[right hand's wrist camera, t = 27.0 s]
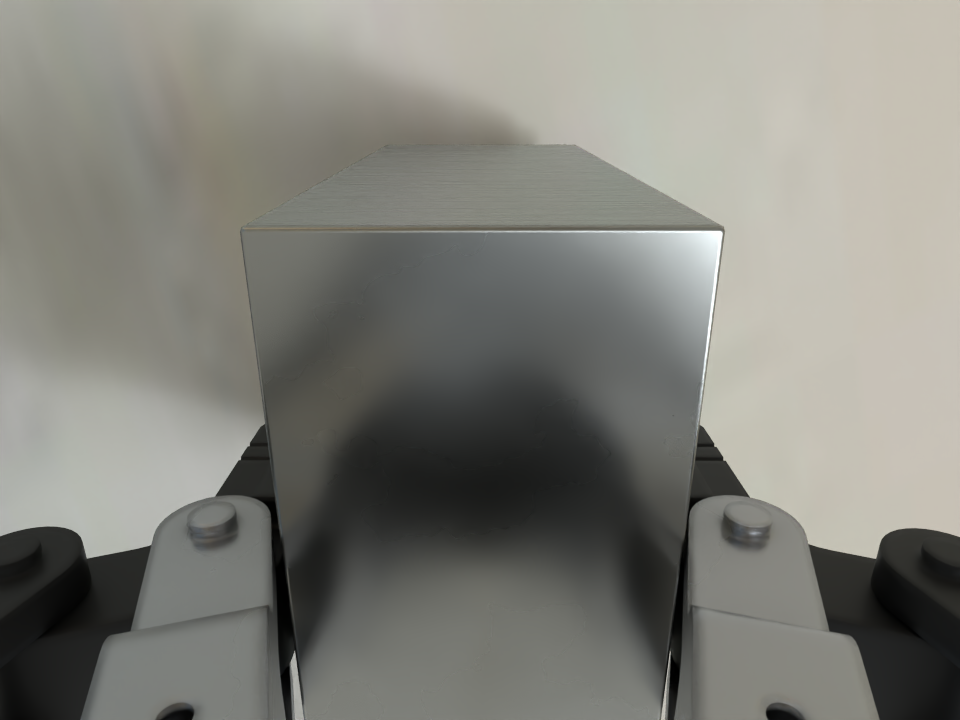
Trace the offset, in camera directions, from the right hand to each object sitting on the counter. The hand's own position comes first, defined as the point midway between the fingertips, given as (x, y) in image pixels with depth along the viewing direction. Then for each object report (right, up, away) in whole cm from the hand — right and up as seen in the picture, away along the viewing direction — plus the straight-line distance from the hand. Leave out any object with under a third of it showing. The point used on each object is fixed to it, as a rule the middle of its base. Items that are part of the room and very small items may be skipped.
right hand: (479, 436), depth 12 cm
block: (0, +2, +5) cm, 5 cm away
